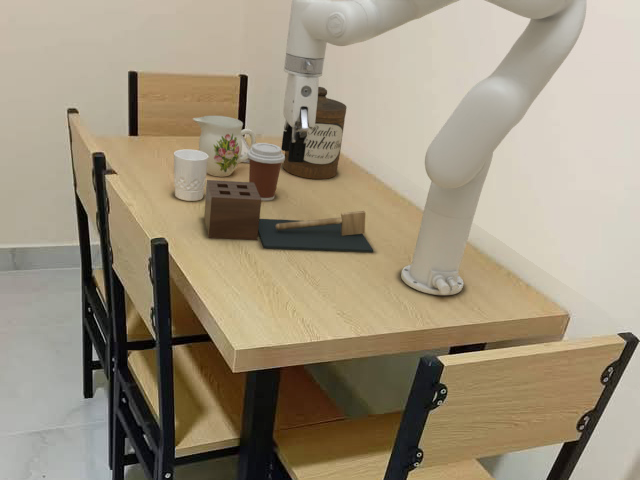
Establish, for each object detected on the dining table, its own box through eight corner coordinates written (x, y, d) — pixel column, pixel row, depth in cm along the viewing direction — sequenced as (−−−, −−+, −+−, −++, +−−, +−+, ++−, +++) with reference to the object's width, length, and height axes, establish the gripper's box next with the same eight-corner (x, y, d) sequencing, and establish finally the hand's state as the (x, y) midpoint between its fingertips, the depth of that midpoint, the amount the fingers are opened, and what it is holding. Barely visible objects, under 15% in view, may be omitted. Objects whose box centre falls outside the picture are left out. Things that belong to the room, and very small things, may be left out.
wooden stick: (276, 243, 162) (364, 233, 164) (275, 221, 159) (365, 212, 162) (275, 240, 163) (363, 231, 166) (274, 219, 160) (363, 210, 163)
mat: (373, 252, 159) (373, 250, 159) (264, 248, 154) (264, 245, 154) (354, 225, 172) (355, 223, 172) (253, 220, 167) (253, 218, 166)
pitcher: (261, 177, 193) (267, 124, 186) (198, 181, 185) (202, 125, 177) (242, 163, 201) (247, 112, 194) (181, 166, 192) (184, 113, 185)
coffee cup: (287, 200, 181) (293, 151, 174) (256, 204, 176) (261, 154, 169) (266, 187, 187) (271, 140, 180) (235, 191, 182) (240, 142, 175)
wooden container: (290, 178, 195) (301, 92, 183) (277, 160, 207) (287, 78, 195) (343, 180, 199) (357, 96, 187) (327, 162, 211) (340, 82, 199)
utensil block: (257, 239, 158) (261, 199, 153) (208, 237, 156) (211, 197, 151) (250, 221, 166) (254, 182, 162) (203, 219, 164) (206, 179, 159)
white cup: (200, 204, 171) (202, 162, 166) (167, 198, 172) (169, 156, 167) (209, 194, 178) (212, 152, 173) (178, 188, 179) (180, 147, 173)
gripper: (333, 76, 137) (318, 171, 146) (313, 57, 151) (301, 144, 160) (293, 73, 135) (281, 168, 145) (277, 54, 149) (267, 142, 159)
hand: (292, 155), depth 152 cm, fingers open, 6 cm apart
